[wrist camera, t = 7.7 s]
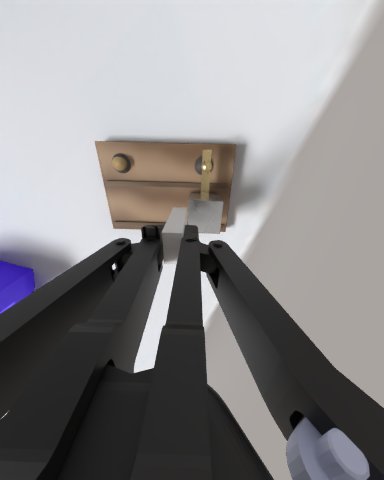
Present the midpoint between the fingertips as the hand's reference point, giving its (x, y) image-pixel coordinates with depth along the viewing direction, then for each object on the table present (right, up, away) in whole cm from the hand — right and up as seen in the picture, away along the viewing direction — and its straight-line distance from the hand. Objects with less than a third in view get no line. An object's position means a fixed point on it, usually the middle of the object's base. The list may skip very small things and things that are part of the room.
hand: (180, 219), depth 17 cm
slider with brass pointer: (+3, +5, +5) cm, 7 cm away
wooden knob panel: (-2, +5, +7) cm, 9 cm away
